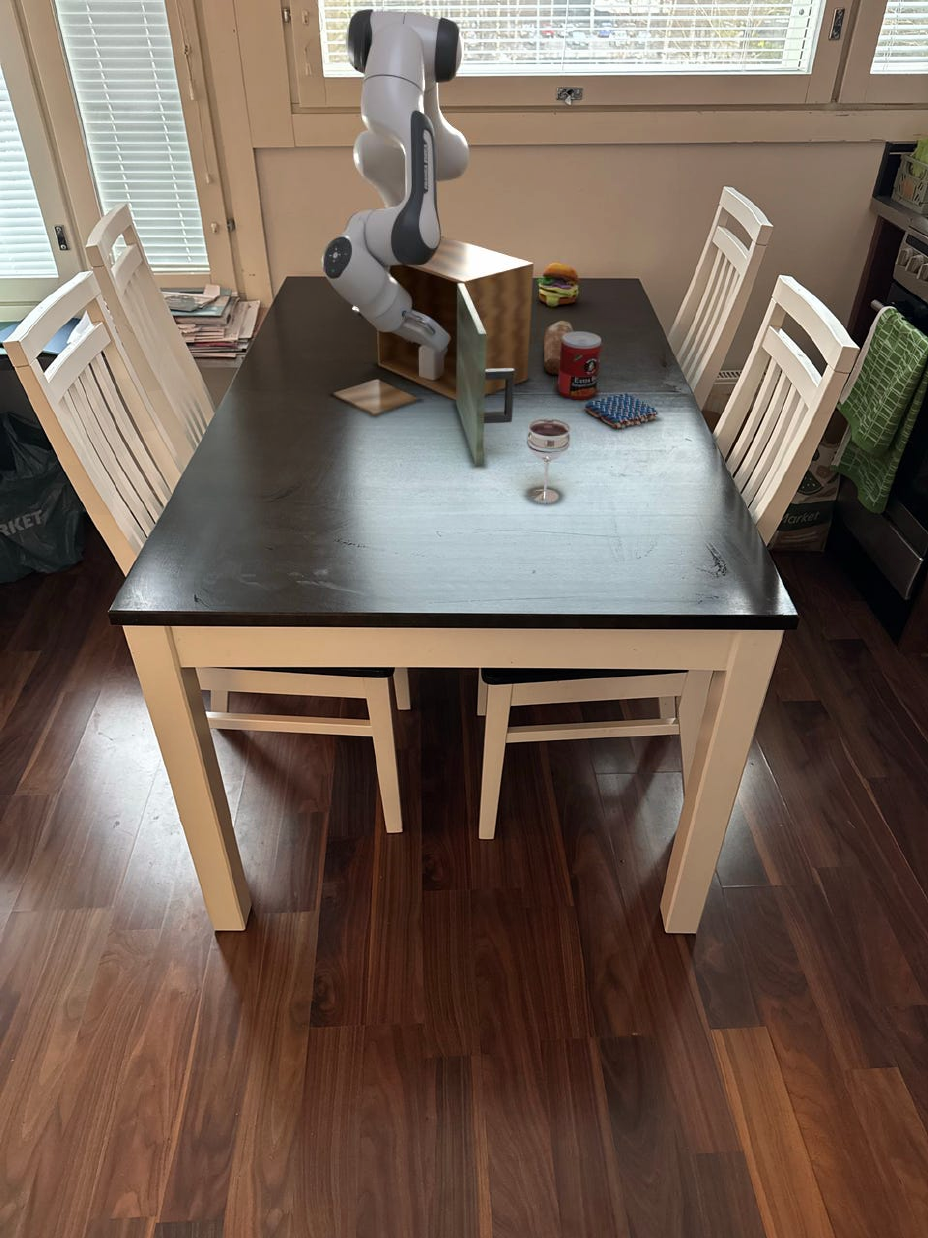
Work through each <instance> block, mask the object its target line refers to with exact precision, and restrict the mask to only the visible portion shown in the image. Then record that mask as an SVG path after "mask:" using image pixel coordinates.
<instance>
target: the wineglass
mask: <svg viewBox="0 0 928 1238" xmlns="http://www.w3.org/2000/svg"><path fill="white" fill-rule="evenodd" d="M527 428H528V433H527V437H526V444H527V446H528V449H529V451H530V452H531V454H532V455H534V456H535V457H536V458H538V459H541V460H542V461H543V462H544V467H543V468H544V470H543V471H544V473H543V488H540V489H539V488H538V489H535V490H532V491H531V493H530V498H531V499H533V500H534V501H536V502H539V503H543V504H545V503H547V504H548V503H552V502H556V501H557V500H559V494H558V492H556V491H554V490H552V489H548V488H547V486H548V478H549V472H550V471H549V470H550V462H552V461H554V460H557V459H559V458H560V457H562V456H563V455H565V454H566V453H567V451H568V450H569V447H570V445H571V435H570V433H571V431H572V427H571V425H570V424H569V423H567V422H566V421H563V420H560V419H555V418H539V419H535V420H533V421H531V422H530V423H529V424H528V426H527Z"/></svg>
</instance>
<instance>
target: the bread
mask: <svg viewBox="0 0 928 1238" xmlns="http://www.w3.org/2000/svg"><path fill="white" fill-rule="evenodd" d="M569 332H575V331H574V329H573V327H572V324H571V323H570V322H569V321H564V320H559V321H558V322H555V323H554V324H552V325H549V326H548V327H547V328H546V330H545V333H544V343H543V345H544V348H543V349H544V351H543V352H544V353H543V355H544V359H543V360H544V368H545V369H544V370H545V371H547V373H548V374H552V375H559V366H560V353H561V341H562V336H563V335H564V334H566V333H569Z"/></svg>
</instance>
